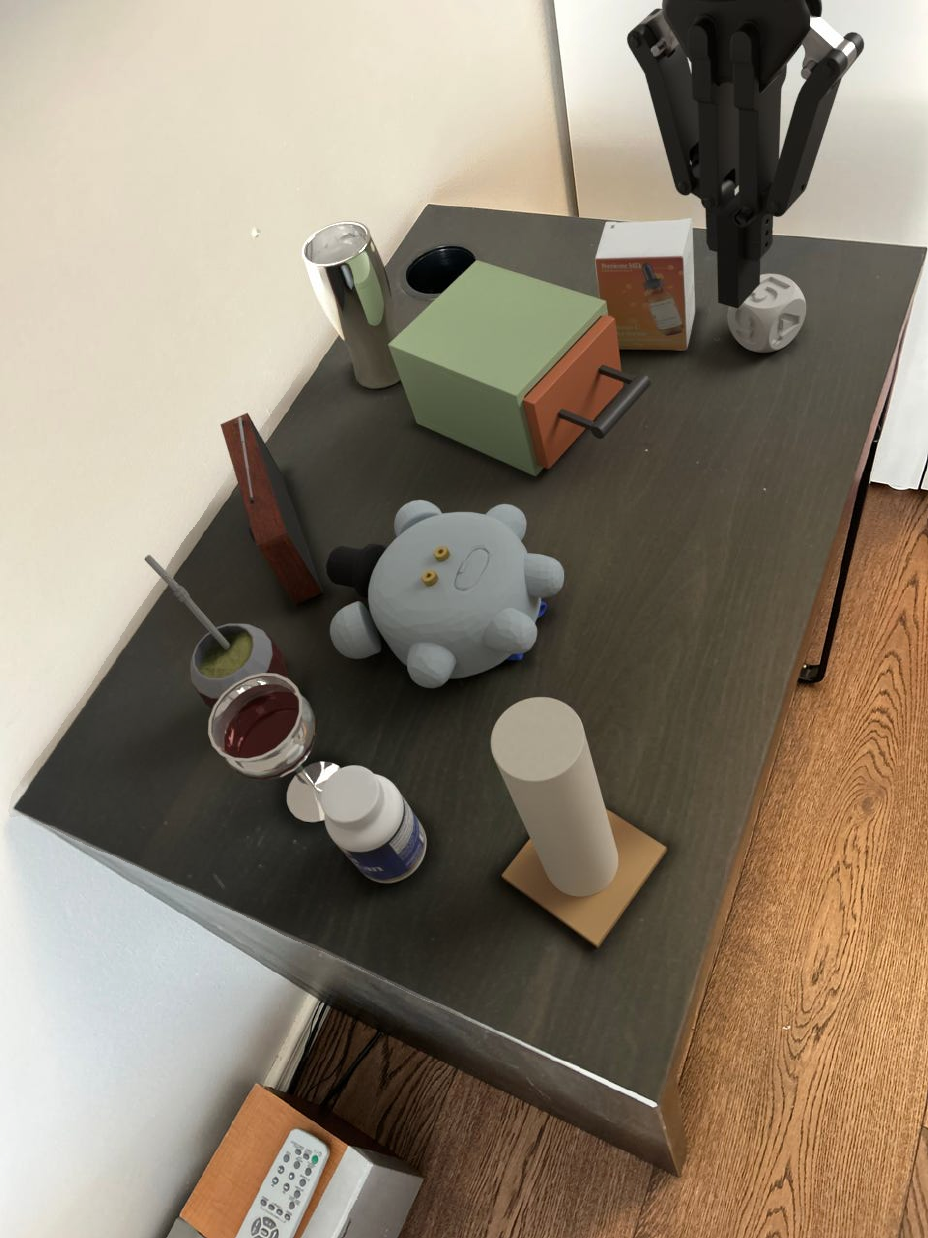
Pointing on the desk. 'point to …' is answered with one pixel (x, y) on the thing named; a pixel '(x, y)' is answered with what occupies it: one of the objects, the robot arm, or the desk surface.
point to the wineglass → (271, 738)
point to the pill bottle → (372, 824)
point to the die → (769, 315)
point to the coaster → (599, 909)
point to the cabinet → (489, 356)
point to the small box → (648, 282)
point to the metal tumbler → (355, 297)
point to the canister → (556, 793)
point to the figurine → (445, 592)
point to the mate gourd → (225, 650)
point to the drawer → (581, 393)
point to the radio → (270, 510)
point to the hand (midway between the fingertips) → (739, 292)
